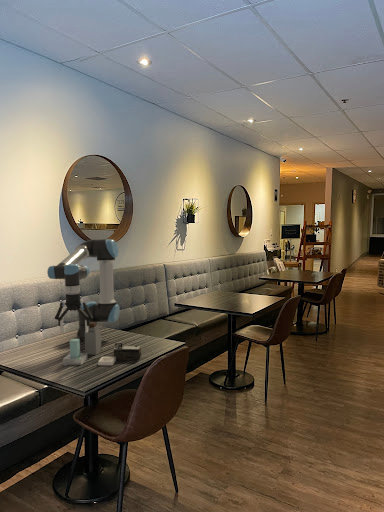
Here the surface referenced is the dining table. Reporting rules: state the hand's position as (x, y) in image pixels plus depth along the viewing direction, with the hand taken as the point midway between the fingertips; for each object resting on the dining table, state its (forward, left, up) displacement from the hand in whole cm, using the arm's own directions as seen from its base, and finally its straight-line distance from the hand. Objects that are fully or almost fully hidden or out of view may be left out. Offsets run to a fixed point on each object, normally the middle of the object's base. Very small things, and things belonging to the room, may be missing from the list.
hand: (74, 332), depth 215 cm
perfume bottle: (-15, +5, -17) cm, 23 cm away
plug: (0, 0, -16) cm, 16 cm away
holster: (+2, +18, -17) cm, 25 cm away
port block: (0, 0, -17) cm, 17 cm away
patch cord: (-11, -2, -17) cm, 20 cm away
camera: (-5, +27, -17) cm, 33 cm away
